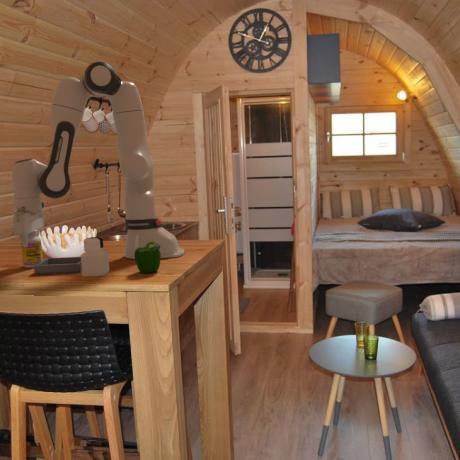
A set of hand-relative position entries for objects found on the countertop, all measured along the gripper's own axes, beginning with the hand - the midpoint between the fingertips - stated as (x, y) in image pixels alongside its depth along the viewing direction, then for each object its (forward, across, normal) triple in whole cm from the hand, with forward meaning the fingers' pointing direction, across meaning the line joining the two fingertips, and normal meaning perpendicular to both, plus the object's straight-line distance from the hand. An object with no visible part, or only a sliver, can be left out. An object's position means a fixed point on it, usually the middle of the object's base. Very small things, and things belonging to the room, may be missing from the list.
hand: (30, 244), depth 195 cm
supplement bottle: (+8, 0, 0) cm, 8 cm away
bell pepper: (+7, -17, -44) cm, 47 cm away
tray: (+8, -7, -13) cm, 17 cm away
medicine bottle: (+8, -17, -27) cm, 33 cm away
